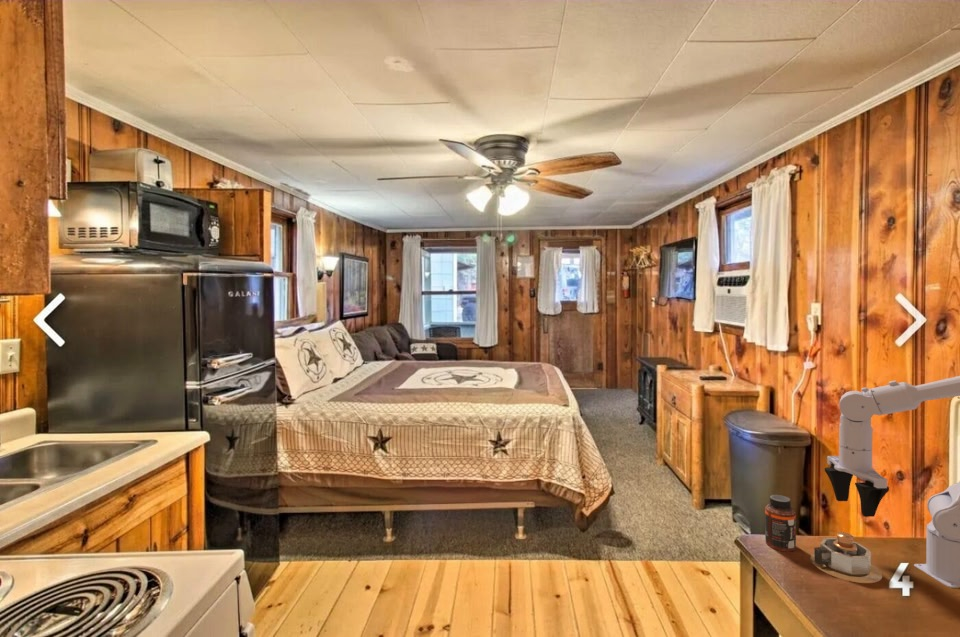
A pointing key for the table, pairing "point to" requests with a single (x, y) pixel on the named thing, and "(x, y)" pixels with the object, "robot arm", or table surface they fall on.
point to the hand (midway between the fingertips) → (854, 507)
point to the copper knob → (845, 543)
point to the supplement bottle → (780, 524)
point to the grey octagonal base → (845, 562)
